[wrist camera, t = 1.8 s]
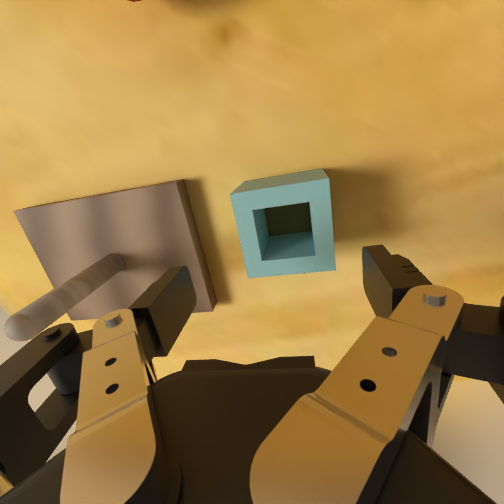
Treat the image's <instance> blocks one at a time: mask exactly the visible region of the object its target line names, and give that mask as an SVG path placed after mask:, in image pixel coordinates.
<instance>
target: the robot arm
mask: <svg viewBox="0 0 504 504" xmlns="http://www.w3.org/2000/svg"><path fill="white" fill-rule="evenodd" d="M362 263H363V285H364V290H365V293H366V296H367V298H368V300H369V302H370V304H371V306H372V308H373V311H374V313H375V315H376V317H375V318H374V319H373V321H372V322H371V323H370V324H369V326H368V327H367V328H366V329H365V331H364V332H363V333H362V334H361V336H360V337H359V338H358V339H357V341H356V342H355V343H354V344H353V346H352V347H351V348H350V349H349V351H348V352H347V353H346V354H345V356H344V357H343V358H342V359H341V361H340V362H339V363H338V364H337V366H336V367H335V368H334V369H333V371H330V370H327V369H324V368H320V367H315V361H314V356H296V357H278V358H274V359H270V360H265V361H261V362H257V363H253V364H248V365H243V364H237V363H232V362H227V361H222V360H217V359H210V360H186V362H185V364H184V366H183V369H182V371H178V372H176V373H173V374H170V375H168V376H165V377H163V378H161V379H159V380H158V377H157V374H156V370H155V367H154V364H153V362H152V359H153V357H164V356H167V355H168V353H169V351H170V350H171V348H172V346H173V345H174V343H175V341H176V339H177V338H178V336H179V334H180V332H181V331H182V329H183V327H184V325H185V324H186V322H187V320H188V319H189V317H190V315H191V313H192V312H193V310H194V308H195V306H196V301H197V298H196V292H195V289H194V286H193V282H192V279H191V275H190V272H189V269H188V268H187V267H186V266H178V267H170V268H169V269H168V270H167V271H166V272H165V273H164V274H163V275H162V276H161V277H160V278H159V279H158V280H157V281H155V282H154V283H152V284H151V285H150V286H149V287H148V288H147V289H146V291H144V292H143V293H142V294H141V296H139V297H138V298H137V299H136V301H135V302H134V303H133V304H132V305H131V306H130V307H129V308H128V309H119V310H116V311H113V312H110V313H108V314H106V315H104V316H103V317H101V318H100V319H99V320H97V321H96V323H95V324H94V326H93V329H92V330H89V331H85V332H81V333H77V332H76V330H75V328H74V326H73V324H71V323H64V324H59V325H56V326H54V327H51V328H49V329H47V330H45V331H43V332H42V333H40V334H39V335H37V336H36V337H35V338H33V339H32V340H31V341H30V342H29V343H27V344H26V345H25V346H24V347H22V348H21V349H20V350H19V351H18V352H16V353H15V354H14V355H13V356H11V357H10V358H9V359H8V360H6V361H5V362H4V363H3V364H2V365H0V504H496V503H495V502H494V501H493V500H492V499H491V498H489V497H488V496H487V495H486V494H484V493H483V492H482V491H481V490H480V489H479V488H478V487H476V486H475V485H474V484H473V483H472V482H470V481H469V480H468V479H467V478H466V477H465V476H463V475H462V474H461V473H460V472H459V471H457V470H456V469H455V468H454V467H453V466H451V465H450V464H449V463H448V462H447V461H446V460H444V459H443V458H442V457H441V456H439V454H437V453H436V452H435V451H434V450H433V449H431V448H432V444H433V440H434V436H435V431H436V426H437V423H438V420H439V417H440V414H441V411H442V409H443V406H444V403H445V400H446V398H447V395H448V392H449V389H450V387H451V384H452V381H453V378H454V375H458V376H463V377H468V378H472V379H477V380H483V381H487V382H489V384H490V385H491V387H492V388H493V390H494V391H495V392H496V394H497V395H498V397H499V398H500V399H501V401H502V402H503V404H504V296H503V297H502V299H501V303H500V307H493V306H482V305H473V304H467V303H464V299H463V297H462V296H461V295H460V294H459V293H457V292H456V291H454V290H452V289H449V288H446V287H442V286H437V285H433V284H432V283H431V282H430V281H429V280H428V279H427V278H426V277H425V276H424V275H423V274H422V273H421V272H419V270H418V269H417V268H416V267H414V265H413V263H412V262H411V261H410V260H409V259H407V258H405V257H402V256H400V255H398V254H396V255H391V254H390V253H389V252H388V251H387V249H386V248H385V247H384V246H383V245H374V246H364V247H363V249H362ZM46 373H47V374H48V375H49V377H50V379H51V380H52V382H53V384H54V385H55V387H56V389H55V390H54V391H53V392H52V393H51V395H50V396H49V397H48V398H47V399H46V400H45V402H44V403H43V404H42V405H41V406H40V407H39V408H38V409H37V411H36V412H35V413H34V411H33V410H32V408H31V407H30V405H29V404H28V395H29V392H30V390H31V389H32V388H33V386H34V385H35V384H36V383H37V382H38V381H39V380H40V379H41V378H42V377H43V376H44V375H45V374H46ZM76 419H77V423H76V430H75V432H74V433H73V434H72V435H70V436H69V438H68V441H67V445H66V448H65V449H64V450H62V451H61V452H60V453H58V454H57V455H56V456H54V457H53V458H52V459H50V460H49V461H48V462H46V461H47V460H48V458H49V457H50V455H51V454H52V453H53V451H54V450H55V448H56V447H57V446H58V444H59V443H60V442H61V440H62V439H63V437H64V436H65V434H66V433H67V432H68V430H69V429H70V427H71V426H72V425H73V423H74V422H75V420H76Z"/></svg>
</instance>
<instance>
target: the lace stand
mask: <svg viewBox="0 0 504 504" xmlns="http://www.w3.org/2000/svg"><path fill="white" fill-rule="evenodd" d="M14 213H15V215H16V217H17V219H18V221H19V223H20V224H21V226H22V228H23V230H24V232H25V234H26V236H27V238H28V240H29V242H30V243H31V245H32V247H33V249H34V251H35V253H36V255H37V257H38V259H39V261H40V262H41V264H42V266H43V268H44V270H45V272H46V274H47V276H48V278H49V280H50V281H51V283H52V285H53V287H54V289H53V290H51V291H50V292H48V293H47V294H45V295H43V296H42V297H40V298H39V299H37V300H36V301H34V302H32V303H31V304H29V305H28V306H26V307H24V308H23V309H21V310H20V311H18V312H17V313H15V314H13V315H12V316H11V317H10V318H8V320H7V321H6V323H5V326H4V332H5V334H6V336H7V337H8V338H10V339H11V340H14V341H26V340H29V339H32V338H33V337H35V336H36V335H38V334H39V333H40V332H42V331H43V330H44V329H45V328H47V327H48V326H49V325H51V324H52V323H53V322H55V321H56V320H57V319H58V318H60V317H61V316H62V315H64V314H65V313H66V312H67V314H68V316H69V317H70V319H71V320H87V319H100V318H101V317H103V316H104V315H106V314H108V313H110V312H113V311H116V310H119V309H128V308H129V307H130V306H131V305H132V304H133V303H134V302H135V301H136V299H137V298H138V297H139V296H141V294H142V293H143V292H144V291H146V289H147V288H148V287H149V286H150V285H151V284H152V283H154V282H155V281H157V280H158V279H159V278H160V277H161V276H162V275H163V274H164V273H165V272H166V271H167V270H168V269H169V268H170V267H178V266H186V267H187V268H188V269H189V272H190V275H191V279H192V282H193V286H194V289H195V292H196V298H197V301H196V306H195V308H194V310H193V312H192V313H196V312H212V311H213V309H214V307H215V305H216V303H217V301H216V297H215V293H214V290H213V286H212V282H211V279H210V275H209V271H208V268H207V264H206V260H205V257H204V253H203V249H202V246H201V242H200V238H199V235H198V231H197V227H196V224H195V220H194V216H193V213H192V209H191V205H190V202H189V198H188V194H187V191H186V187H185V183H184V180H183V179H182V180H176V181H171V182H165V183H160V184H154V185H148V186H143V187H137V188H132V189H126V190H121V191H115V192H110V193H104V194H99V195H93V196H87V197H82V198H76V199H71V200H65V201H60V202H54V203H49V204H43V205H38V206H32V207H27V208H24V209H20V210H16V211H14Z"/></svg>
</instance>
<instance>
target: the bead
mask: <svg viewBox="0 0 504 504" xmlns="http://www.w3.org/2000/svg"><path fill="white" fill-rule="evenodd" d="M230 196H231V201H232V205H233V210H234V215H235V220H236V224H237V229H238V234H239V238H240V243H241V248H242V252H243V257H244V262H245V266H246V271H247V276H248V278H255V277H266V276H277V275H289V274H300V273H311V272H322V271H333V270H336V264H335V251H334V237H333V224H332V210H331V197H330V183H329V177H328V176H327V175H326V173H325V172H324V170H323V169H322V168H321V169H315V170H310V171H304V172H298V173H292V174H286V175H280V176H274V177H268V178H262V179H256V180H251V181H245V182H243V183H242V184H241V185H240V186H239V187H238V188H237V189H235V190H234V191H233V192H232V193H231V194H230ZM304 202H309V207H310V217H311V226H312V231H307V232H298V233H290V234H282V235H274V236H269V234H268V228H267V222H266V216H265V210H264V208H270V207H277V206H283V205H290V204H297V203H304Z"/></svg>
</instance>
